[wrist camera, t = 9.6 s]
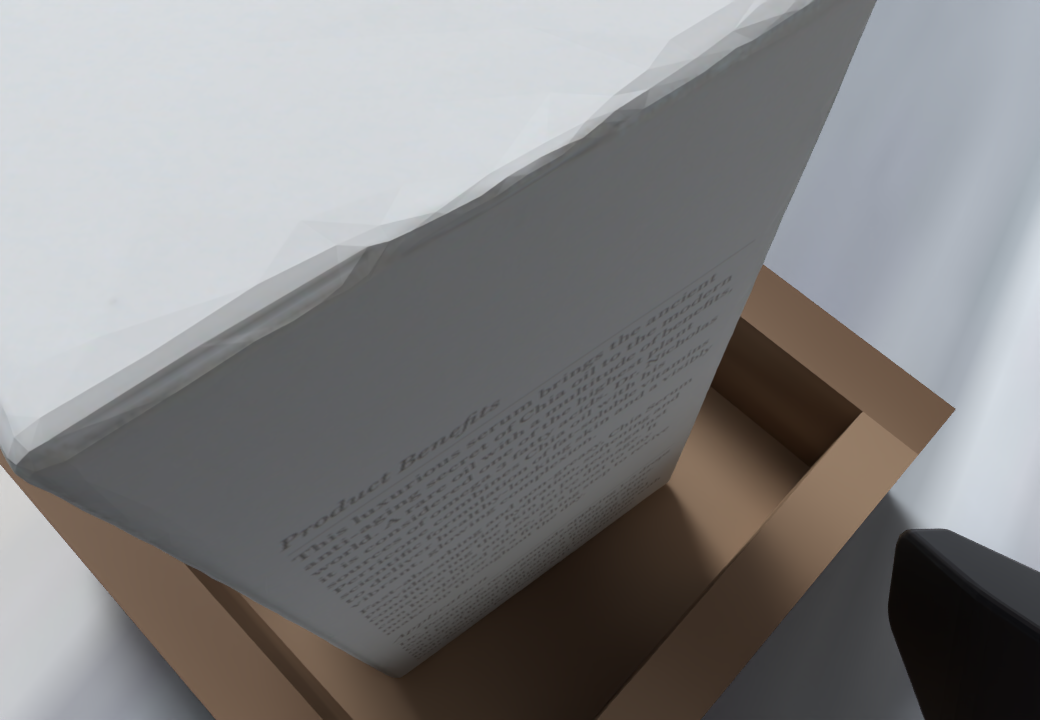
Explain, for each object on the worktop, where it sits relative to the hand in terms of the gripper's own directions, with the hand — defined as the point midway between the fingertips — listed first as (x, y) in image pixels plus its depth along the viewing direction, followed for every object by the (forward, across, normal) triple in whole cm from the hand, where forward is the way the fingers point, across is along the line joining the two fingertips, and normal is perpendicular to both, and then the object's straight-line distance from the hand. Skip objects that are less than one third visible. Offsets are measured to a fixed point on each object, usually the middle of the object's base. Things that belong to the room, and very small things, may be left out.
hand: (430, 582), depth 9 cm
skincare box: (+7, 0, +3) cm, 8 cm away
